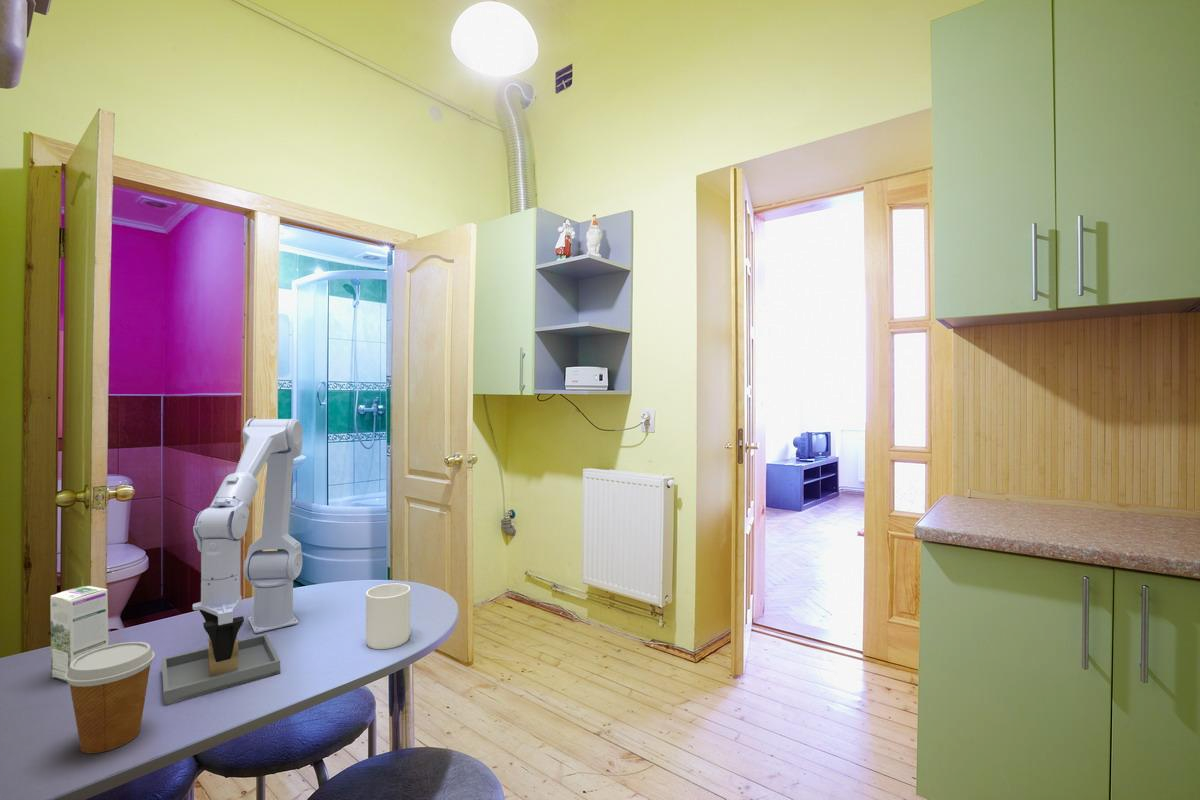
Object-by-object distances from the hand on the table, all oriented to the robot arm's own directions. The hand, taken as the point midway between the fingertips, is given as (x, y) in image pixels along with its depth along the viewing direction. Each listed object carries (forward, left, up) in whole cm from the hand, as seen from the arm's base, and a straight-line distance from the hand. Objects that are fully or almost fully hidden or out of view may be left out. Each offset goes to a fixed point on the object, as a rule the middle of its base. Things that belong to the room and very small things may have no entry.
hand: (220, 651), depth 96 cm
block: (0, 0, -3) cm, 3 cm away
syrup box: (-15, -19, -4) cm, 25 cm away
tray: (0, 0, -4) cm, 4 cm away
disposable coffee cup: (+13, -14, -4) cm, 19 cm away
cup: (+4, +27, -4) cm, 28 cm away
